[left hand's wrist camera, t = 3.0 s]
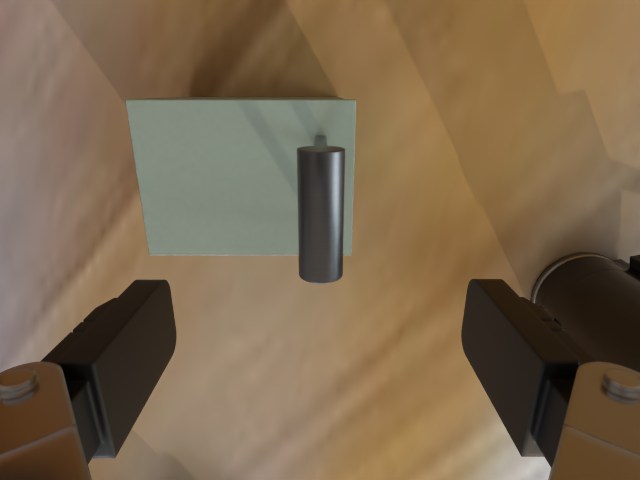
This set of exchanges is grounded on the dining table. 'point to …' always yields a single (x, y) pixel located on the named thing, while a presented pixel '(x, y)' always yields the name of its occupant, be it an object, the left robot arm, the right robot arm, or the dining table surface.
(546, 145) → the dining table surface
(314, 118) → the lid
